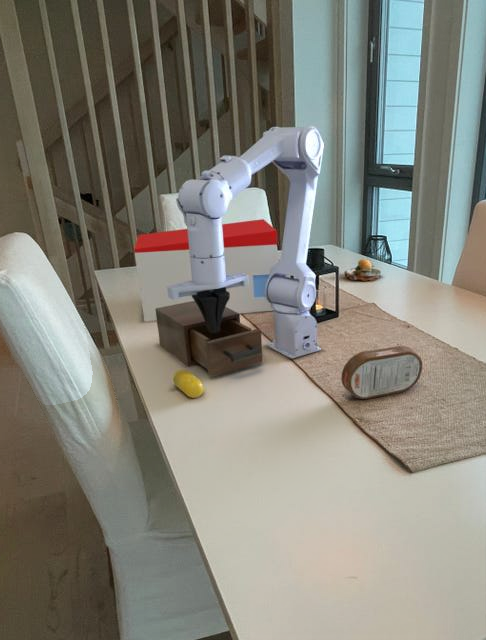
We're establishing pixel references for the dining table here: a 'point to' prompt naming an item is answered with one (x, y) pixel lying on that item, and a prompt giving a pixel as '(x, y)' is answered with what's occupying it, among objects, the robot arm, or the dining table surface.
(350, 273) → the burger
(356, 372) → the tin
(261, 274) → the red-topped white box
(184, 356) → the cabinet
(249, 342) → the drawer
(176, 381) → the yellow oval capsule
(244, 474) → the dining table surface
